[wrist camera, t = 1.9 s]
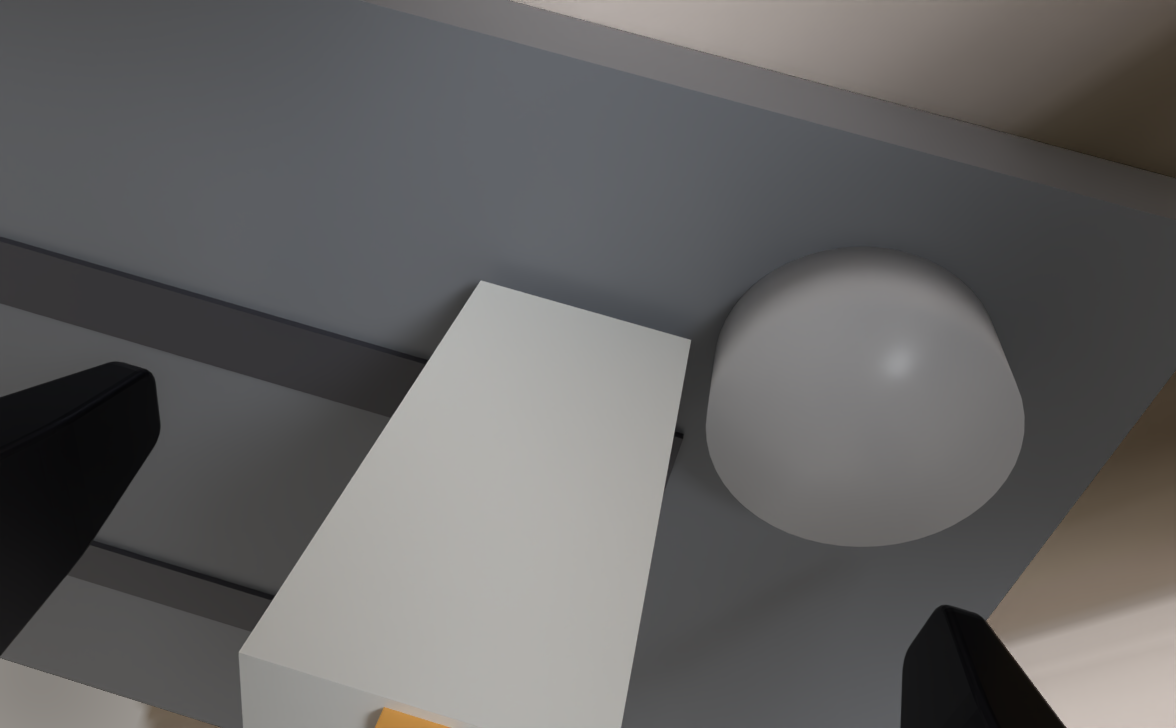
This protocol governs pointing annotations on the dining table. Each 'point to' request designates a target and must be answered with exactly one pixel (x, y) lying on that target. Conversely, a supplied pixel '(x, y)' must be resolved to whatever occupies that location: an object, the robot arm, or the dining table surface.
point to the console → (573, 277)
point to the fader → (485, 536)
